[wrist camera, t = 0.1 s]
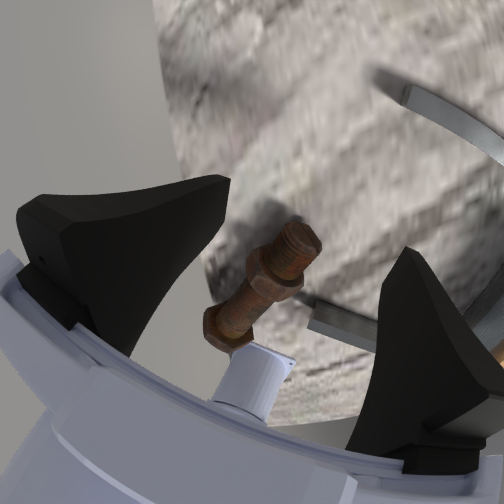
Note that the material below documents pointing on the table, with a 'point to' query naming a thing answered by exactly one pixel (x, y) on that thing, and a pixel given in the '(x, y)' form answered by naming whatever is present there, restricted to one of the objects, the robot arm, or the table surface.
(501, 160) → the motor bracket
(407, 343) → the robot arm
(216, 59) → the table surface
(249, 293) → the bolt
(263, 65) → the table surface
